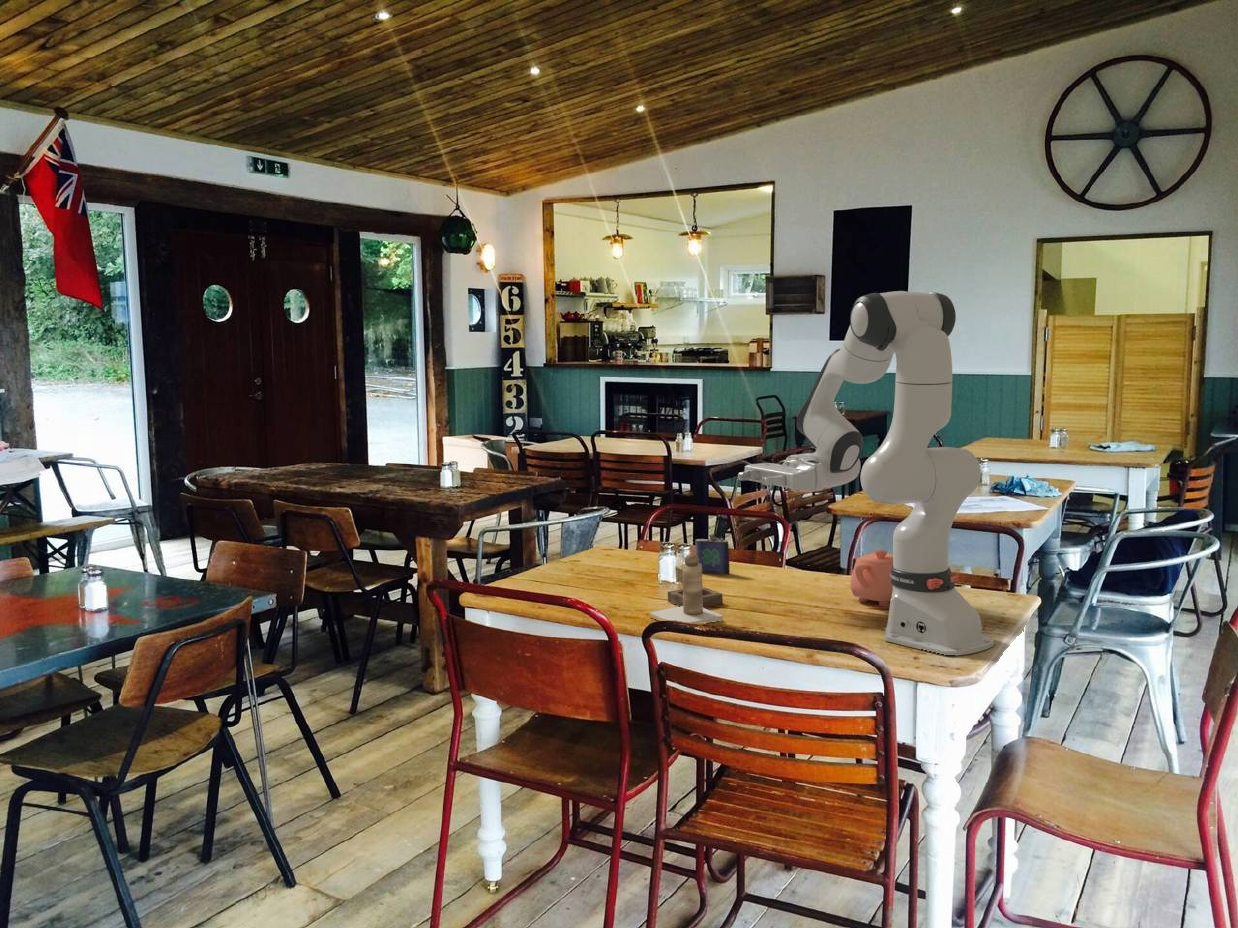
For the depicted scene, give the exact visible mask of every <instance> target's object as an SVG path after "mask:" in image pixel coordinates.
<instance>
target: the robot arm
mask: <svg viewBox="0 0 1238 928" xmlns="http://www.w3.org/2000/svg"><path fill="white" fill-rule="evenodd" d="M849 315H850V316H849V323H850V324H849V327H848V330H847V332H846V334H845V337H844V339H843V343H842V346H841V348H837V349H836V350H834V351H832V352H831V354H830V355H829V356H828V357H827V359H826V360H825V362H824V364H823V367H821V370H820V372H819V375H818V376H817V378H816V381H815V383H814V385H813V386H812V389H811V390H810V394H809V396H808V397H807V399H806V401H805V402H804V403H803V404H802V406H801V407H800V408H799V411H798V412H797V416H796V422H795V423H796V429H797V430H798V431H799V433H800V434H802V435H803V436H804V437H805V438H806V439H808V440H809V441H810V442H811V443H812V444H813V445H814V446H815V448H816V449H815V450H814V451H815V452H813V453H811V452H808V453H799V454H791V455H788V456H787V457H786V459H785V460H784V462H783V463H782V464H779V463H769V462H763V463H762V462H761V463H751V464H746V465H745V466H744V471H741V472H738V474H737V477H738V478H737V479H738V480H739V481H742V482H743V481H751V482H756V483H761V484H762V485H763V486H776V487H777V486H778V487H781V488H787V489H788V490H790V491H791V492H793V493H799V492H801V493H802V492H808V491H812V492H820V491H823V490H824V489H827V488H835V487H840V486H843V485H846V484H848V483H851V482H852V481H854V480H855V479H856V478H857V477H858V476H859V474H860V476H859V477H860V484H861V488H862V490H863V492H864V494H865V496H866V497H867V498H868V499H869V500H870V501H872V502H874V503H880V504H885V505H896V506H897V505H904V504H906V505H907V504H913V503H914V506H913V509H912V511H911V512H910V513H909V515H908V516H907V517H906V518H905V519H904V520H902V521H901V522H900V523H898V524H897V525H896V527H895V528H894V531H893V534H892V535H893V536H892V554H893V566H892V567H891V573H890V576H891V584H892V585H893V589H892V596H891V601H889V605H890V606H889V610H888V619H887V624H886V627H885V629H884V633H885V634H884V640H885V641H886V642H890V643H893V644H898V645H900V646H901V645H902V646H905V647H910V648H913V649H918V650H921V649H923V650H922V651H925V650H927V651H926V652H929V651H932V652H931V653H933V652H936V653H935V654H937V653H940V654H939V655H941V654H944V655H943V656H945V655H955V656H964V655H969V654H976V653H978V652H979V653H980V652H982V651H983V652H984V651H985V650H988V649H990V648H992V647H993V646H994V645H995V639H994V638H992V637H991V636H988V635H987V634H984V633H983V627H982V621H981V616H980V614H979V612H978V611H977V610H976V609H975V608H974V607H973V606H972V605H971V604H970V603H969V602H968V601H967V600H966V598H964V596H963V595H962V594H961V593H960V592H959V591H958V590H957V589H956V583H955V582H959V581H960V579H958V578H959V577H960V575H954V576H953V572H952V571H951V568H950V566H949V555H950V551H949V549H950V536H951V531H952V530H951V529H952V526H953V522H954V520H955V518H956V516H957V513H958V511H959V510H960V507H961V506H962V504H963V503H964V501H966V499H967V498H968V497H969V496H970V495H971V494H972V493H973V492H975V491H976V489H977V488H978V486H979V484H980V481H981V477H982V474H981V473H982V472H981V471H982V470H981V466H980V462H979V460H978V458H977V456H976V455H975V454H974V453H973V452H972V451H970V450H969V449H967V448H959V447H951V446H941V447H940V446H938V447H929V444H930V441H931V440H932V439H933V436H935V434H936V433H937V432H939V431H940V430H942V429H944V427H945V426H947V425H948V423H949V422H950V420H951V417H952V402H953V401H952V399H953V398H952V395H953V362H952V361H953V359H952V358H953V357H952V351H951V349H952V348H951V346H950V339H949V336H951V333H952V332H953V330H954V328H955V324H956V319H957V316H956V315H957V314H956V309H955V306H954V303H953V301H952V300H951V298H949V296H948V295H946V294H943V293H939V292H934V291H928V292H920V291H905V290H898V291H896V290H895V291H887V292H880V293H878V292H873V293H872V292H871V293H868V294H865V295H862V296H860V297H858V298H857V299H856V300H855V302H854V303H853V305H852V308H851V310H850V314H849ZM894 354H895V359H896V367H895V368H896V369H895V383H894V385H895V386H894V387H895V388H894V403H893V415H892V419H891V423H890V426H889V430H888V432H887V434H886V436H885V438H884V439H883V441H882V443H881V445H880V446H879V447H878V448H877V450H875V452H874V453H873V454H872V455H870V456H869V457H868V458H867V459H866V460H865V461H864V463H863V465H862V468H861V460H860V456H861V453H862V451H863V450H862V449H863V446H864V438H863V435H862V434H861V433H860V431H859V430H858V429H857V428H856V427H855V426H854V425H853V424H852V422H850V421H849V420H848V419H847V418H846V417H845V416H844V415H843V414H842V413H841V412H840V411H839V410H838V409H837V406H836V404H835V399H836V396H837V394H838V393H839V390H840V388H841V387H842V384H843V382H844V381H845V382H849V383H850V384H857V385H858V384H859V385H862V384H863V385H864V384H866V385H867V384H870V383H871V384H872V383H875V382H876V381H878V380H880V379H881V378H883V377H884V376H885V374H887V371H888V369H889V368H890V365H891V362H892V360H893V356H894Z"/></svg>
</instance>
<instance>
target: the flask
mask: <svg viewBox="0 0 1238 928" xmlns="http://www.w3.org/2000/svg"><path fill="white" fill-rule="evenodd" d="M715 535H716V534H715V532H712V533H710V534H708V536H709V538H708V539H706V538H705V539H704V538H697V539H695V542H694V543H695V555H696V556H697V557H698V559H699V564H701V565H702V574H708V575H713V574H714V575H723V576H726V575H727V576H728V575H730V567H731V565H730V551H729V549H730V547H729V541H728V540H727V539H724V538H719V537H716V536H715Z"/></svg>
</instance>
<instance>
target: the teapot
mask: <svg viewBox="0 0 1238 928" xmlns="http://www.w3.org/2000/svg"><path fill="white" fill-rule="evenodd" d="M892 566H893V553H888V551H887V550H885V549H876V550H875V551H874V552H872V553H869V554H865V555H861V556H859V557H858V558H857V559H856V560H855V563H854V567H853V569H852V574H851V578H850V590H851V592H852V595H853V596H854V597H857V598H858V600H857V602H858V603H859V602H860V603H868V602H869V601H875V602H878V606H879V607H880V608H881V607H882V608H883V607H884V608H886V607H890V601H891V596H892V589H893V585H892V584H891V576H890V573H891V567H892Z"/></svg>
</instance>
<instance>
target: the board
mask: <svg viewBox="0 0 1238 928" xmlns="http://www.w3.org/2000/svg"><path fill="white" fill-rule="evenodd" d="M648 613H649V615H651V616H654V617H656V618H660V619H667V620H677V621H682V622H688V623H696V624H704V623H699V622H712V621H719V620H723V621H724V615H723V614H720V613H717V612H715V611H712V610H711V609H707V608H703V613H702V614H700V615H686V614H684V609H683V606H680V607H679V606H676V607H671V608H665V609H660V610H656V611H649V612H648Z"/></svg>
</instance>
